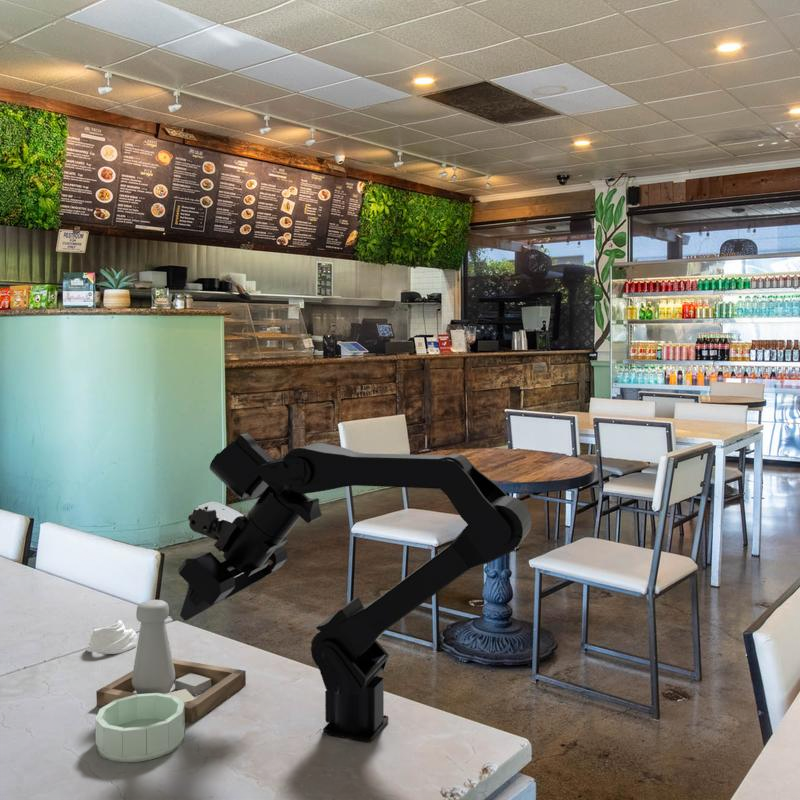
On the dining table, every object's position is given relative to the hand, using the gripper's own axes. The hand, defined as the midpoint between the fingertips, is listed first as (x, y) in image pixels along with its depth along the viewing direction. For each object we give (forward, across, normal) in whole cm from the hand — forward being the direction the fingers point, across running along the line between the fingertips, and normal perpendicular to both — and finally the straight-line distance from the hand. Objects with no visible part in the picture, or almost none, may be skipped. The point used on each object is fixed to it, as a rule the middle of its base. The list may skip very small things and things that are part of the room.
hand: (202, 607), depth 107 cm
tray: (+14, -1, +4) cm, 14 cm away
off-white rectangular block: (+13, -4, +5) cm, 15 cm away
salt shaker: (+15, 0, +2) cm, 15 cm away
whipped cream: (+26, -12, -11) cm, 31 cm away
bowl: (+11, +12, +7) cm, 18 cm away
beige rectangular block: (+12, +2, +6) cm, 14 cm away
